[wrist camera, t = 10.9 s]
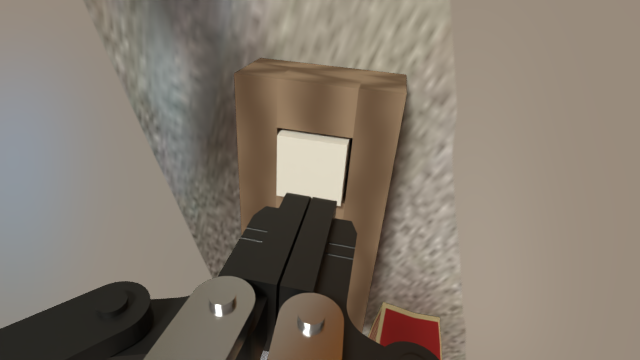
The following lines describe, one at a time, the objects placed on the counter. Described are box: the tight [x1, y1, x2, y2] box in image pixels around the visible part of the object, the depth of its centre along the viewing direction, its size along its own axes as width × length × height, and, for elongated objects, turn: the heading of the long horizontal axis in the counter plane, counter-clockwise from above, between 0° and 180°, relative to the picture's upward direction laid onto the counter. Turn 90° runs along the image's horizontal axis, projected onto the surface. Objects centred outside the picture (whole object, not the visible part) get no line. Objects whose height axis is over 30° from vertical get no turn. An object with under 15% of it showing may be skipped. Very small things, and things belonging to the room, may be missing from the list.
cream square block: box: [276, 128, 352, 206], centre depth 34 cm, size 6×6×4 cm
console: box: [234, 58, 407, 333], centre depth 39 cm, size 14×28×6 cm, turn 176°
